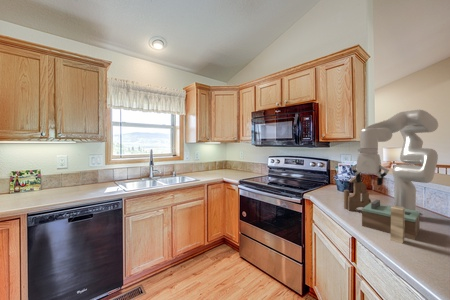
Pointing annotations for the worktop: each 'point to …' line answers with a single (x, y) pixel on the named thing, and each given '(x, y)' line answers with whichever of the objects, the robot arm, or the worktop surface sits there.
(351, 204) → the wooden toy
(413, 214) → the lid
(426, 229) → the worktop surface
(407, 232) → the open wooden box
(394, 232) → the block
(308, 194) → the worktop surface
